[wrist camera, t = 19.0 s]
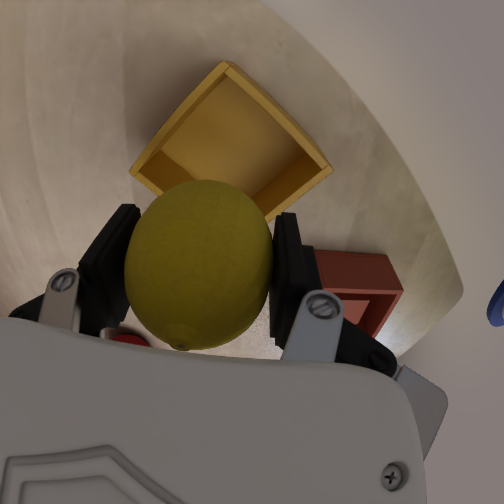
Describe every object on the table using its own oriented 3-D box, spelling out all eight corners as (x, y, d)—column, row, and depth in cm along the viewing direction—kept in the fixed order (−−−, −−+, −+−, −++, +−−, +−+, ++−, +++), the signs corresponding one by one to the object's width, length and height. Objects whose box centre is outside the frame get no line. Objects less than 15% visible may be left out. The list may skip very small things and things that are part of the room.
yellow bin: (319, 147, 22) (334, 170, 18) (236, 216, 27) (230, 253, 22) (232, 61, 18) (222, 59, 13) (153, 148, 22) (127, 172, 18)
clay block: (360, 274, 30) (370, 300, 27) (350, 298, 32) (357, 324, 29) (328, 273, 30) (334, 300, 27) (320, 297, 32) (325, 324, 29)
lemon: (233, 265, 16) (218, 398, 10) (146, 219, 14) (82, 344, 8) (294, 194, 13) (321, 335, 7) (193, 132, 11) (111, 234, 5)
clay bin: (387, 255, 29) (404, 290, 25) (362, 308, 35) (371, 343, 30) (310, 249, 29) (319, 287, 24) (295, 306, 34) (299, 343, 30)
